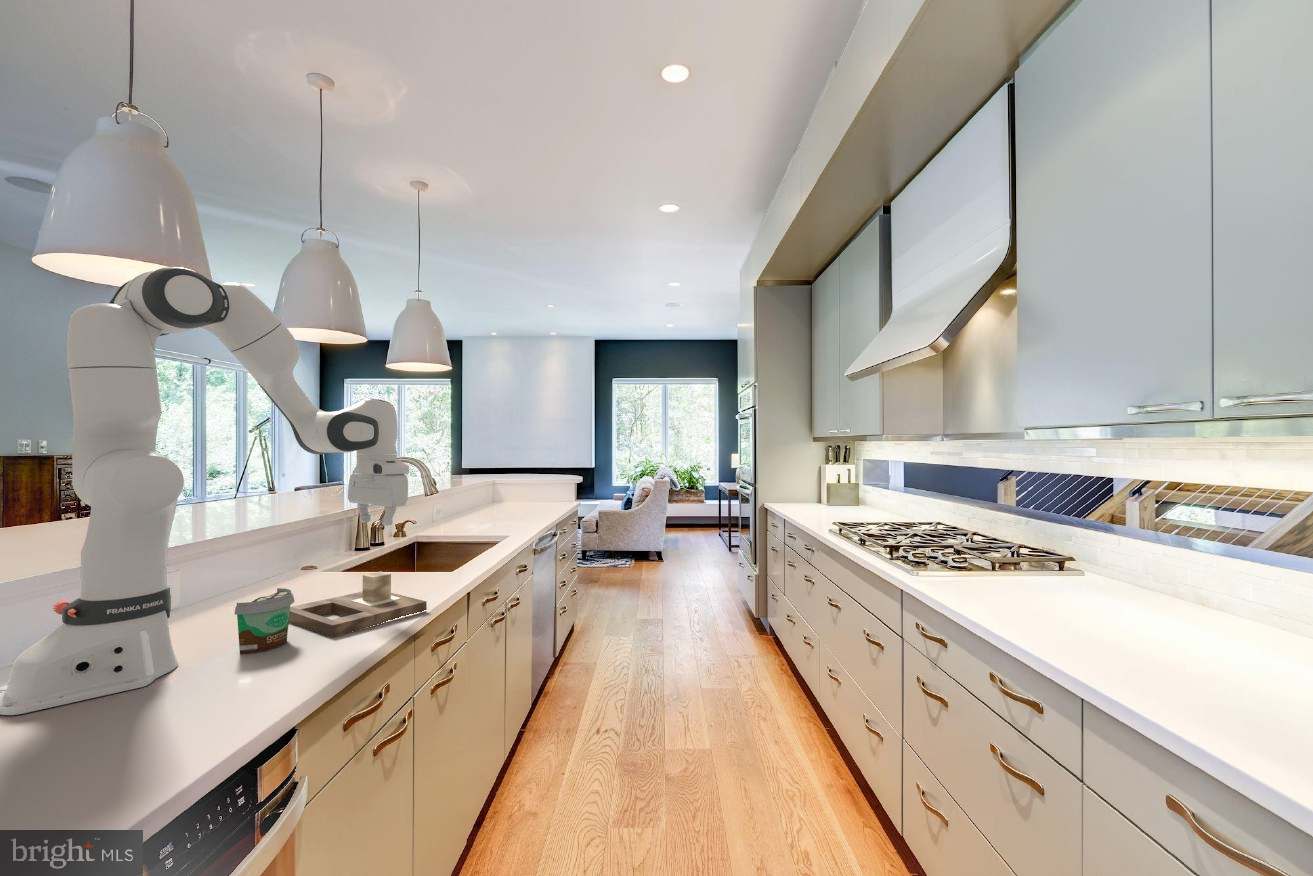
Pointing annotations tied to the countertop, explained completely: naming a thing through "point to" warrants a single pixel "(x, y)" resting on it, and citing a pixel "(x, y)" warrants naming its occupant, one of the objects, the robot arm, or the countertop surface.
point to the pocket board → (352, 613)
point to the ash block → (376, 587)
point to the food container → (264, 622)
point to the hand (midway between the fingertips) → (376, 523)
